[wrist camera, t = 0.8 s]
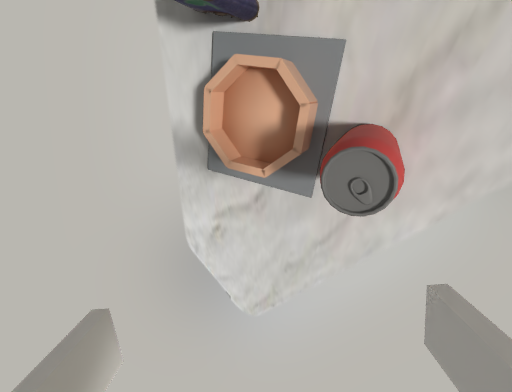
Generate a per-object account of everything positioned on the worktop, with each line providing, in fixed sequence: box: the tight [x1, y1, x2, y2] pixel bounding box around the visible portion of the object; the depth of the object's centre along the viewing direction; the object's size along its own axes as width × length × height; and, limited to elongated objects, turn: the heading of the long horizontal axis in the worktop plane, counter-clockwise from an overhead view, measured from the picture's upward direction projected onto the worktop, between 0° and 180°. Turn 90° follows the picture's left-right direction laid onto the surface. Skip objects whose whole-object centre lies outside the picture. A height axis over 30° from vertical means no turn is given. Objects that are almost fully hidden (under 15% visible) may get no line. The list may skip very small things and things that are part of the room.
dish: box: [203, 54, 318, 178], centre depth 32 cm, size 13×13×4 cm
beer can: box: [320, 124, 405, 216], centre depth 25 cm, size 7×7×12 cm
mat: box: [208, 31, 346, 198], centre depth 34 cm, size 18×16×1 cm
